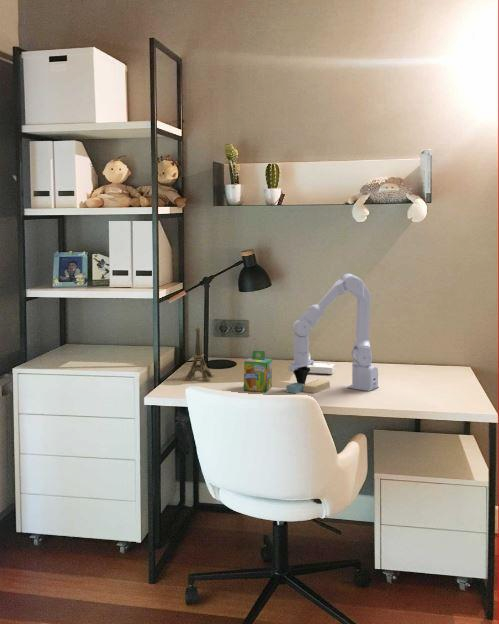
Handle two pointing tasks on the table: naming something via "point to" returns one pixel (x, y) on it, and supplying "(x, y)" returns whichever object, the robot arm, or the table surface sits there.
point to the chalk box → (258, 373)
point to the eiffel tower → (202, 365)
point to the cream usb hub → (316, 386)
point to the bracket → (321, 368)
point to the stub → (294, 387)
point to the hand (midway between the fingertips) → (301, 386)
